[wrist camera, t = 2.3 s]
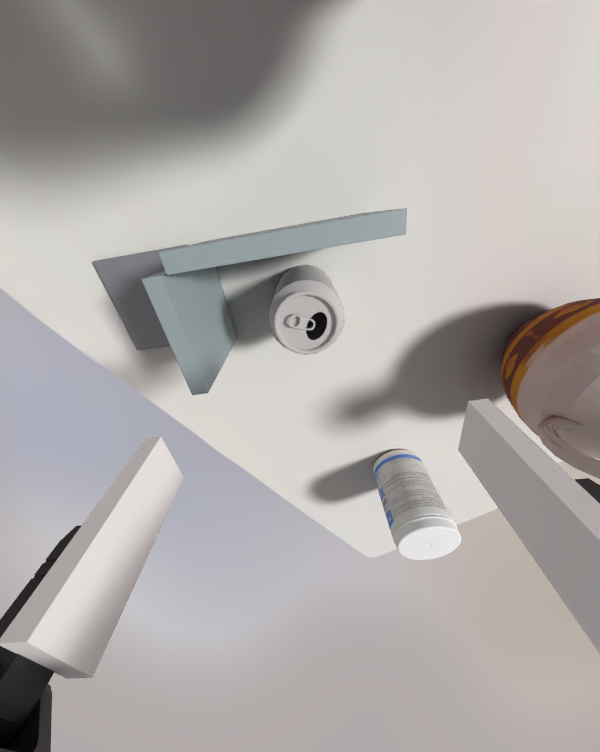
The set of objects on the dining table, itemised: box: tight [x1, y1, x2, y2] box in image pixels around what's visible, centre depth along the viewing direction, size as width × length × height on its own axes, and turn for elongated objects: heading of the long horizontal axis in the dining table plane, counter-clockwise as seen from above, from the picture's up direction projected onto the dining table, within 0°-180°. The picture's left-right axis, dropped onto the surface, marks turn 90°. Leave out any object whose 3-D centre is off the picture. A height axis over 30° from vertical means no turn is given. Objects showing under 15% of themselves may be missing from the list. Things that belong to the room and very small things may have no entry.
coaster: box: [93, 245, 189, 350], centre depth 35 cm, size 12×12×1 cm
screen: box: [142, 208, 407, 395], centre depth 28 cm, size 13×20×14 cm, turn 99°
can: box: [268, 265, 345, 355], centre depth 30 cm, size 8×8×12 cm
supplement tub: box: [373, 450, 461, 560], centre depth 45 cm, size 10×10×15 cm
